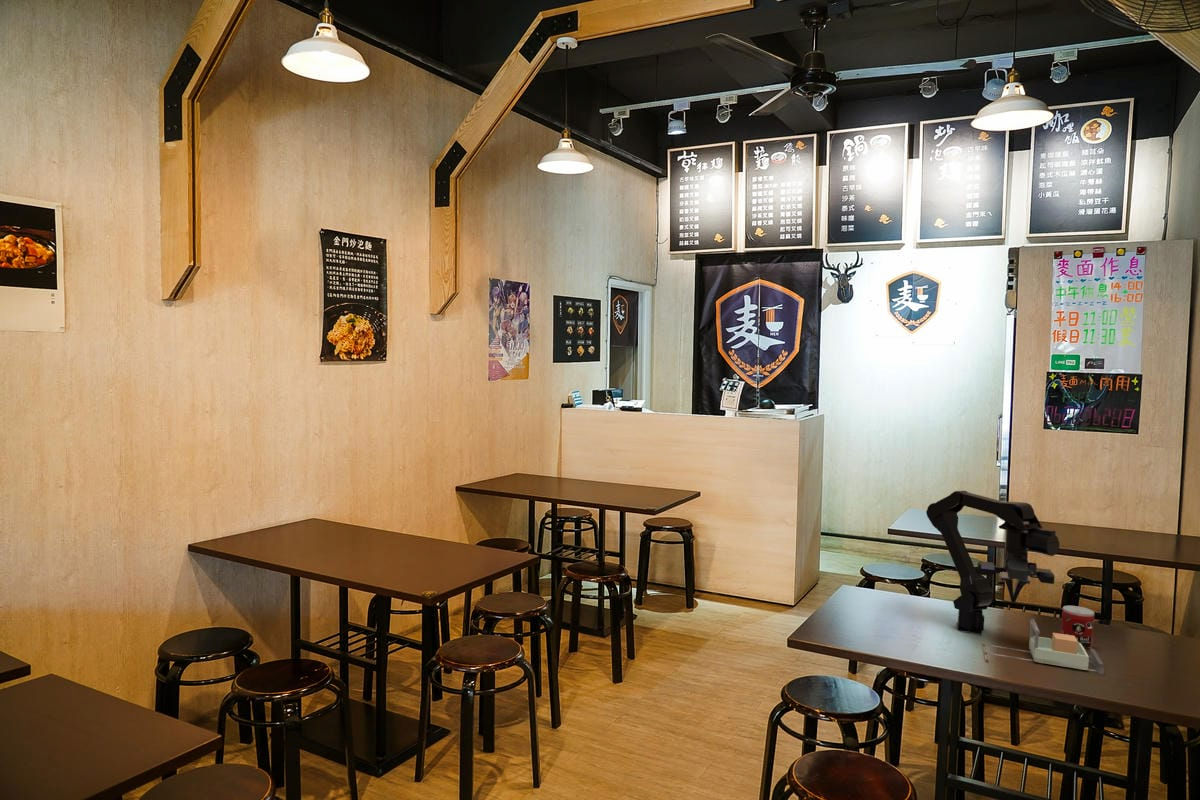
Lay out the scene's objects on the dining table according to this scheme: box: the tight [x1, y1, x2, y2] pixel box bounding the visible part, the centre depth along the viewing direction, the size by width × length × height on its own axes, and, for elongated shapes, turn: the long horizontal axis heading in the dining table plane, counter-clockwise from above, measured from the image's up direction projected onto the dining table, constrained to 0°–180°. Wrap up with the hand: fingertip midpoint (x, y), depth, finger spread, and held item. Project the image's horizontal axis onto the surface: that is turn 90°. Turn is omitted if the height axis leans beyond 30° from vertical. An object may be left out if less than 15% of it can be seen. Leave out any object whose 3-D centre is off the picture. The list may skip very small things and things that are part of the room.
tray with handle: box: [1028, 618, 1090, 671], centre depth 205 cm, size 12×11×9 cm
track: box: [980, 639, 1105, 676], centre depth 206 cm, size 27×16×4 cm, turn 67°
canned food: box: [1060, 605, 1095, 651], centre depth 218 cm, size 8×8×11 cm
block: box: [1051, 632, 1078, 654], centre depth 204 cm, size 5×5×5 cm
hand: (1012, 602), depth 218 cm, fingers closed
